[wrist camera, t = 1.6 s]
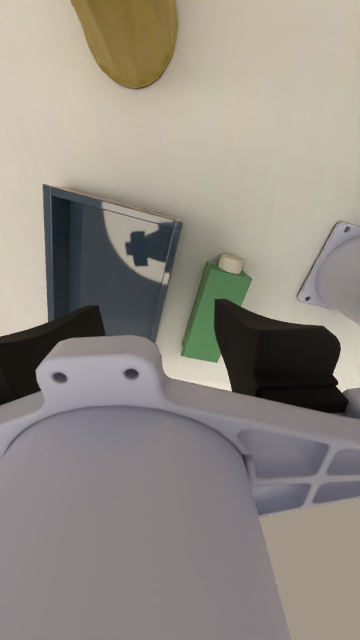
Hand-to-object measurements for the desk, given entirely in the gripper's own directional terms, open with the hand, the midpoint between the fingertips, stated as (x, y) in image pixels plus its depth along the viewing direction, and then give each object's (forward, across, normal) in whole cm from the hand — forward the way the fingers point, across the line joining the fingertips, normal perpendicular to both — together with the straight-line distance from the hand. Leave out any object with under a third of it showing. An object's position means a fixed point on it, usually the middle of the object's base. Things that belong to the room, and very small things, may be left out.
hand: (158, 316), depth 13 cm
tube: (+10, -5, +4) cm, 12 cm away
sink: (+10, +5, +1) cm, 11 cm away
